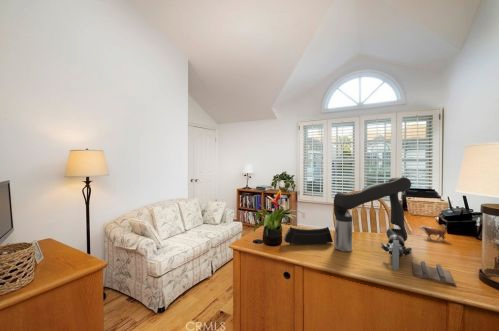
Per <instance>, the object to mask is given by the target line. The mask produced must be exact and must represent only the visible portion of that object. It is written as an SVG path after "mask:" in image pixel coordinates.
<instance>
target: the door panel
mask: <svg viewBox="0 0 499 331" xmlns="http://www.w3.org/2000/svg"><path fill="white" fill-rule="evenodd" d="M399 260H400V257H399V240H393V252H392V261H391V262H392V268H391V269H392V270H395V271H399V268H400V267H399V266H400V265H399V262H400V261H399Z"/></svg>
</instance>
